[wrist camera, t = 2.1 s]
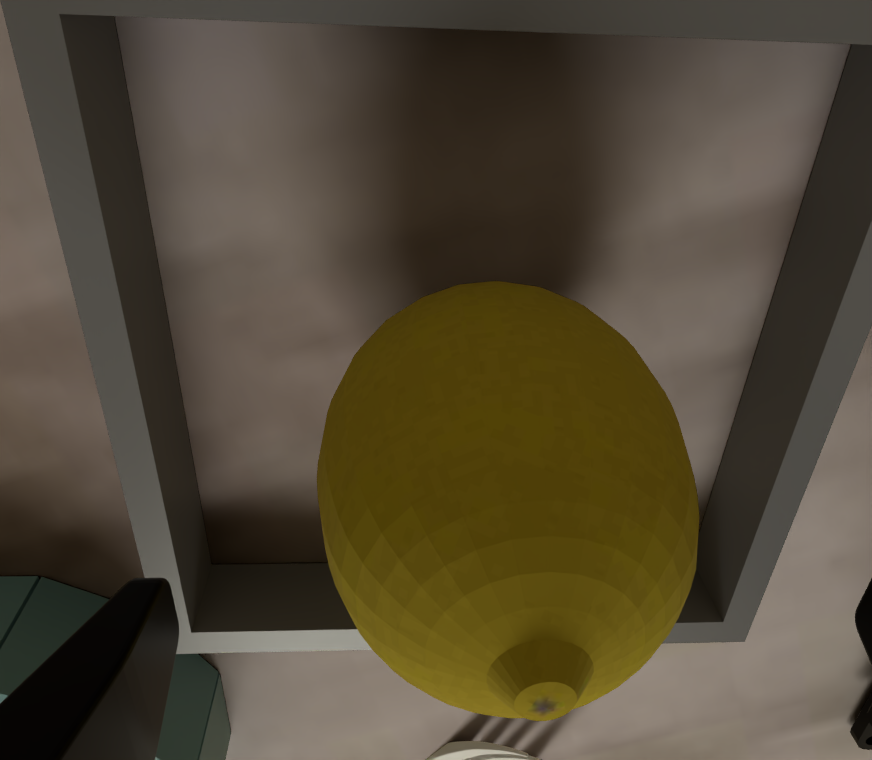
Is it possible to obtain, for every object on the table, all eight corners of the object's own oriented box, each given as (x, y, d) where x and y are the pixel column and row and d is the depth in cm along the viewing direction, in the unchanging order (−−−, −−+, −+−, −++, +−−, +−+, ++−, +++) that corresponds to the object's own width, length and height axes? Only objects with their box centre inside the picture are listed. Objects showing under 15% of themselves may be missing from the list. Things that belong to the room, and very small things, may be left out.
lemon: (314, 232, 13) (226, 546, 6) (613, 203, 13) (867, 482, 6) (357, 468, 16) (330, 862, 9) (601, 443, 16) (763, 818, 9)
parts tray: (911, -13, 11) (1005, -7, 10) (711, 577, 18) (744, 641, 16) (54, -50, 10) (-13, -53, 9) (186, 585, 17) (164, 654, 16)
